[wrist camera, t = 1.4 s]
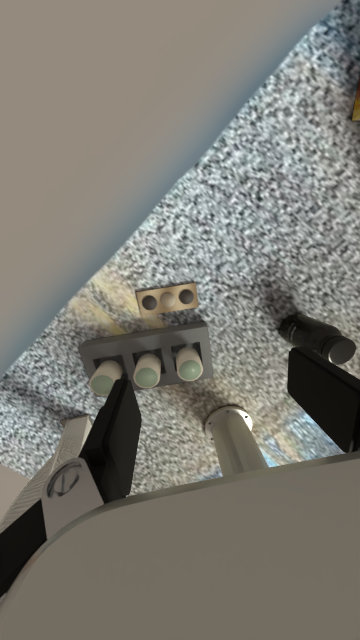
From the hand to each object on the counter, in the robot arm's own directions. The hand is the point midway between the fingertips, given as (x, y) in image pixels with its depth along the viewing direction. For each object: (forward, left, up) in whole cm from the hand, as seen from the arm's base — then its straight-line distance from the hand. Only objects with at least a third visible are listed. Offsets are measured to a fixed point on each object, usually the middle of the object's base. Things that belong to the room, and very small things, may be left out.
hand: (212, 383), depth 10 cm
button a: (-12, 0, -24) cm, 26 cm away
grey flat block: (-12, +8, -28) cm, 31 cm away
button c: (-12, +16, -24) cm, 31 cm away
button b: (-12, +8, -24) cm, 28 cm away
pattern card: (0, +2, -28) cm, 28 cm away
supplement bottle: (-11, -25, -28) cm, 39 cm away
